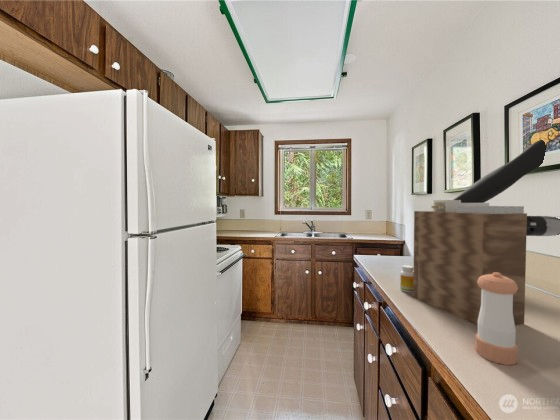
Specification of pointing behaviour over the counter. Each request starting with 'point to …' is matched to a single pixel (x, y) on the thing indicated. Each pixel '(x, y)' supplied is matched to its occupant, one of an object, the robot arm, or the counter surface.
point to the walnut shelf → (467, 259)
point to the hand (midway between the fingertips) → (490, 225)
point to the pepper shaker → (496, 319)
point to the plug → (452, 205)
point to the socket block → (490, 209)
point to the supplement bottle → (407, 278)
